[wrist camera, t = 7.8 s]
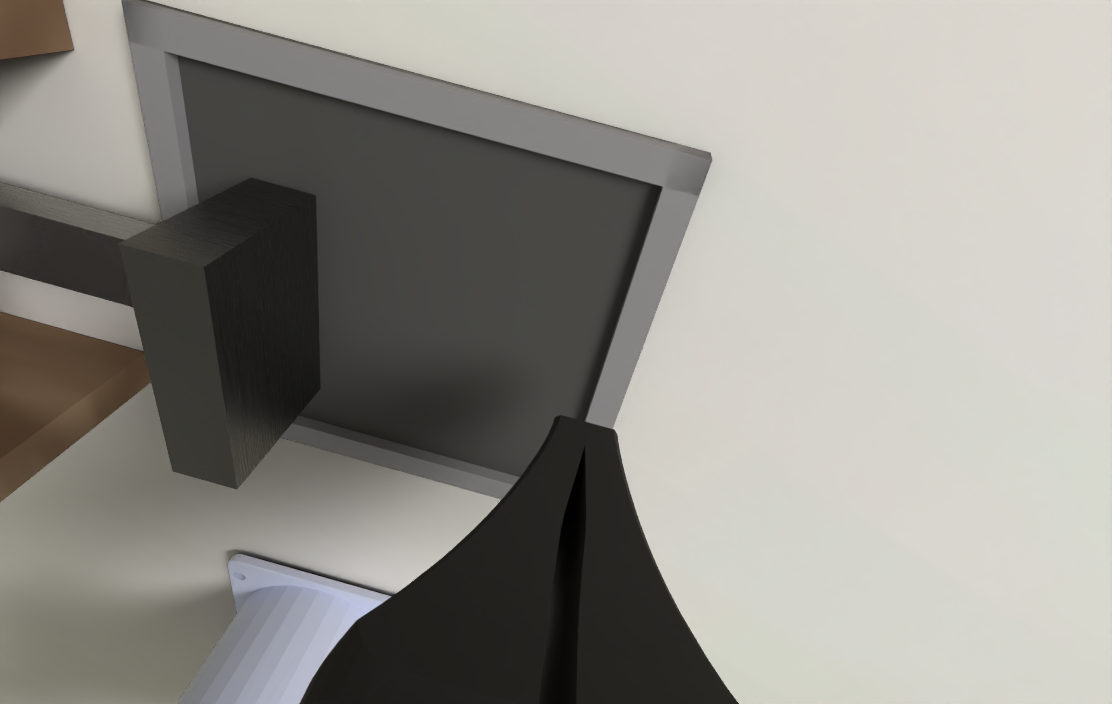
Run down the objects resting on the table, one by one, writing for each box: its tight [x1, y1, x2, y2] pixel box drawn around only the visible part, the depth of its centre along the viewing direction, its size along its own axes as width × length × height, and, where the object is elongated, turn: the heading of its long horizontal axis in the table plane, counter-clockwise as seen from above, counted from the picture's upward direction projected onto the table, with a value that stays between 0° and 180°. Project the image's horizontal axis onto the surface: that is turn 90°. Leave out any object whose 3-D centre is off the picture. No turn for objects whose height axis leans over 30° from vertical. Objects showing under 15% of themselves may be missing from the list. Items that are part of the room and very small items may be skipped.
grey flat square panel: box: [121, 0, 712, 499], centre depth 16 cm, size 12×13×1 cm
